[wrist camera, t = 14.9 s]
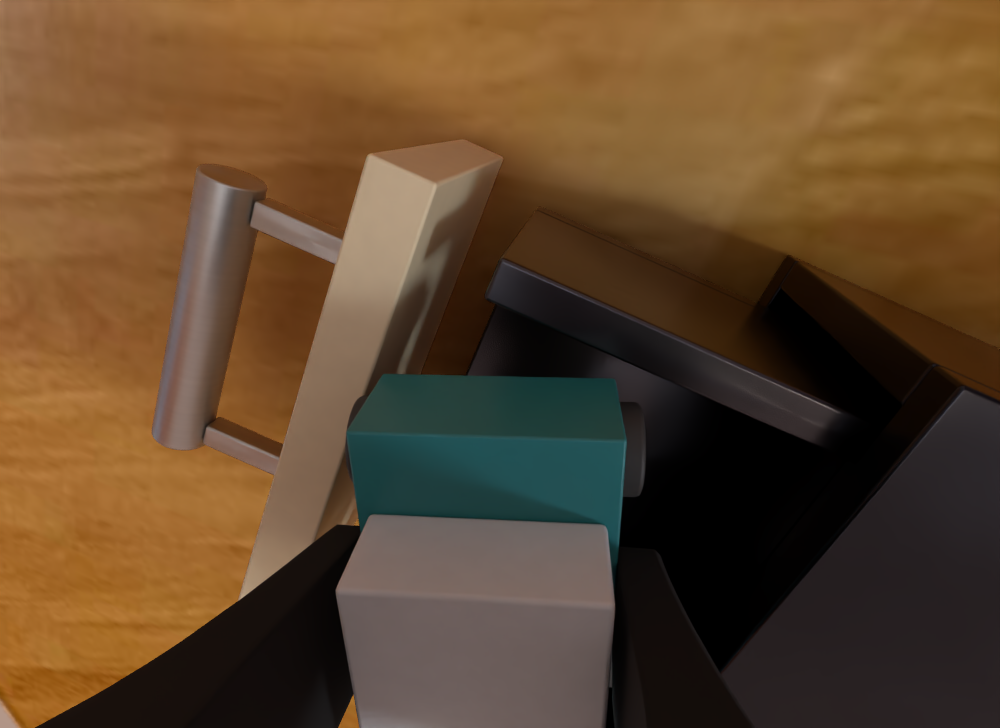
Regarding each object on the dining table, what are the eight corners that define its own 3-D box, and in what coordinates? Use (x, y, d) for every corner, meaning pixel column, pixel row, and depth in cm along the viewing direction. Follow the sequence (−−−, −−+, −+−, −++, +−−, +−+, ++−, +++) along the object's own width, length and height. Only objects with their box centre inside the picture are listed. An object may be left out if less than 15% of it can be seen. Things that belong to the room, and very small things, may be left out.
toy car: (365, 360, 11) (263, 499, 7) (639, 365, 10) (682, 516, 7) (400, 638, 14) (340, 840, 10) (616, 652, 13) (637, 868, 10)
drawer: (226, 421, 20) (56, 558, 14) (308, 69, 15) (108, 37, 9) (710, 634, 20) (757, 864, 14) (937, 350, 16) (1160, 506, 9)
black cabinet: (585, 576, 21) (574, 845, 13) (787, 253, 16) (963, 384, 8) (958, 740, 21) (1164, 1103, 13) (1277, 473, 16) (1912, 808, 8)
